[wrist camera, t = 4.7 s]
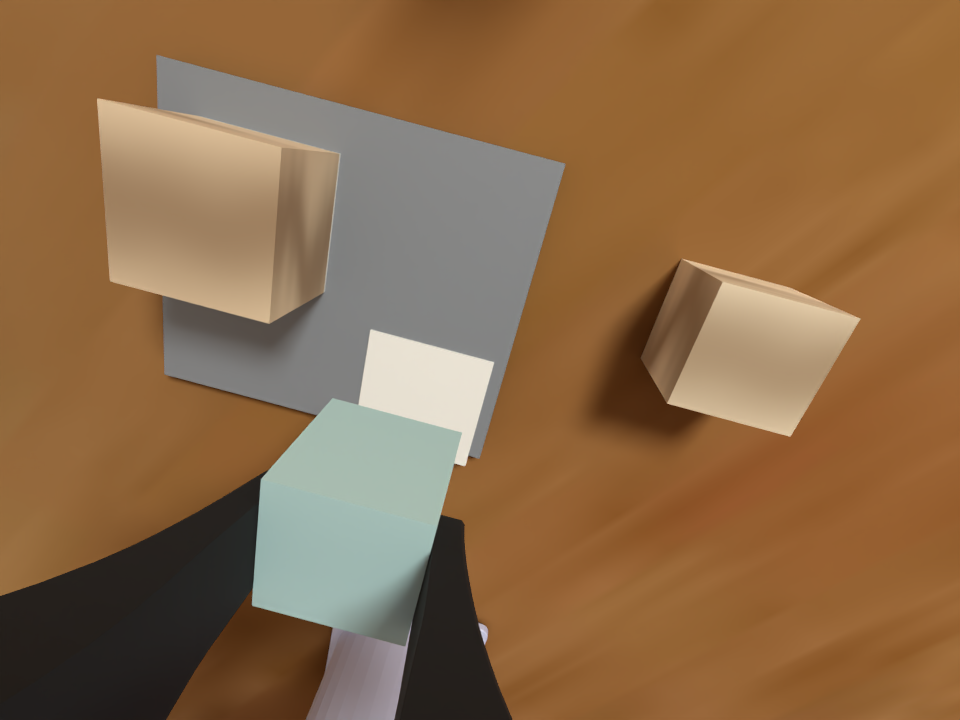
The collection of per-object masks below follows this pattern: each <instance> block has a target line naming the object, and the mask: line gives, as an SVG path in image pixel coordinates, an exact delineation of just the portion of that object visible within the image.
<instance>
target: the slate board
mask: <svg viewBox="0 0 960 720" xmlns="http://www.w3.org/2000/svg"><path fill="white" fill-rule="evenodd" d="M157 94H158V109H161V110H167V111H173V112H178V113H184V114H190V115H196V116H200V117H204V118H208V119H212V120H215V121H219V122H223V123H227V124H230V125H234V126H238V127H242V128H245V129H249V130H253V131H257V132H260V133H264V134H268V135H272V136H275V137H279V138H283V139H287V140H290V141H294V142H298V143H302V144H305V145H309V146H313V147H317V148H320V149H324V150H328V151H332V152H335V153H339V163H338V172H337V180H336V189H335V198H334V206H333V215H332V224H331V233H330V241H329V250H328V259H327V267H326V276H325V285H324V293H322V294H320V295H319V296H317V297H315V298H313V299H312V300H310V301H308V302H306V303H305V304H303V305H301V306H299V307H298V308H296V309H294V310H293V311H291V312H289V313H287V314H286V315H284V316H282V317H280V318H279V319H277V320H275V321H273V322H272V323H270V324H268V323H264V322H261V321H257V320H253V319H249V318H246V317H242V316H238V315H234V314H231V313H227V312H223V311H219V310H216V309H212V308H208V307H204V306H201V305H197V304H193V303H189V302H186V301H182V300H178V299H174V298H171V297H167V296H163V331H164V370H165V375H169V376H172V377H176V378H180V379H184V380H187V381H191V382H195V383H198V384H202V385H206V386H210V387H213V388H217V389H221V390H225V391H228V392H232V393H236V394H240V395H243V396H247V397H251V398H255V399H258V400H262V401H266V402H270V403H273V404H277V405H281V406H284V407H288V408H292V409H296V410H299V411H303V412H307V413H311V414H314V415H318V414H319V413H320V412H321V411H322V410H323V408H324V407H325V406H326V405H327V404H328V403H329V402H330V401H331V399H332V398H334V399H338V400H342V401H345V402H349V403H353V404H357V405H360V406H364V407H368V408H372V409H375V410H379V411H383V412H387V413H390V414H394V415H398V416H402V417H405V418H409V419H413V420H417V421H420V422H424V423H428V424H432V425H435V426H439V427H443V428H447V429H450V430H454V431H458V432H462V435H461V439H460V443H459V446H458V450H457V454H456V458H455V462H454V463H455V464H458V465H462V466H465V465H466V462H467V458H468V456H471V457H475V458H480V455H481V451H482V448H483V444H484V441H485V438H486V434H487V431H488V427H489V424H490V420H491V417H492V414H493V410H494V407H495V403H496V400H497V397H498V393H499V390H500V386H501V383H502V379H503V376H504V373H505V369H506V366H507V362H508V359H509V355H510V352H511V349H512V345H513V342H514V338H515V335H516V332H517V328H518V325H519V321H520V318H521V314H522V311H523V308H524V304H525V301H526V297H527V294H528V290H529V287H530V284H531V280H532V277H533V273H534V270H535V267H536V263H537V260H538V256H539V253H540V249H541V246H542V243H543V239H544V236H545V232H546V229H547V225H548V222H549V219H550V215H551V212H552V208H553V205H554V202H555V198H556V195H557V191H558V188H559V184H560V181H561V178H562V174H563V171H564V167H565V164H564V163H560V162H557V161H553V160H549V159H545V158H542V157H538V156H534V155H530V154H526V153H523V152H519V151H515V150H511V149H508V148H504V147H500V146H496V145H493V144H489V143H485V142H481V141H478V140H474V139H470V138H466V137H463V136H459V135H455V134H451V133H448V132H444V131H440V130H436V129H433V128H429V127H425V126H421V125H418V124H414V123H410V122H406V121H403V120H399V119H395V118H391V117H387V116H384V115H380V114H376V113H372V112H369V111H365V110H361V109H357V108H354V107H350V106H346V105H342V104H339V103H335V102H331V101H327V100H324V99H320V98H316V97H312V96H309V95H305V94H301V93H297V92H294V91H290V90H286V89H282V88H279V87H275V86H271V85H267V84H264V83H260V82H256V81H252V80H249V79H245V78H241V77H237V76H233V75H230V74H226V73H222V72H218V71H215V70H211V69H207V68H203V67H200V66H196V65H192V64H188V63H185V62H181V61H177V60H173V59H170V58H166V57H162V56H158V55H157Z"/></svg>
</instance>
